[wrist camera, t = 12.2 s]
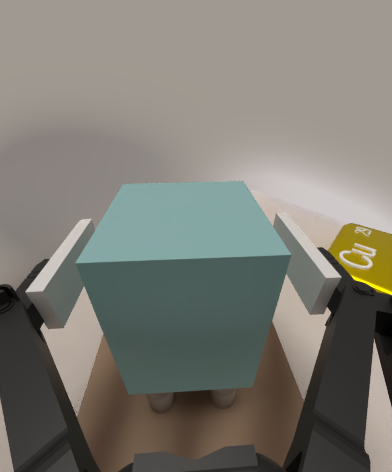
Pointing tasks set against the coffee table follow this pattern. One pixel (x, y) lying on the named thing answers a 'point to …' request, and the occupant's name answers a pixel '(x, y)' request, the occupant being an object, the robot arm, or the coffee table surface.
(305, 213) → the coffee table surface
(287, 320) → the coffee table surface
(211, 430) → the peg board
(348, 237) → the element tile
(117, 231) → the teal block
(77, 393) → the coffee table surface
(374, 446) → the coffee table surface
